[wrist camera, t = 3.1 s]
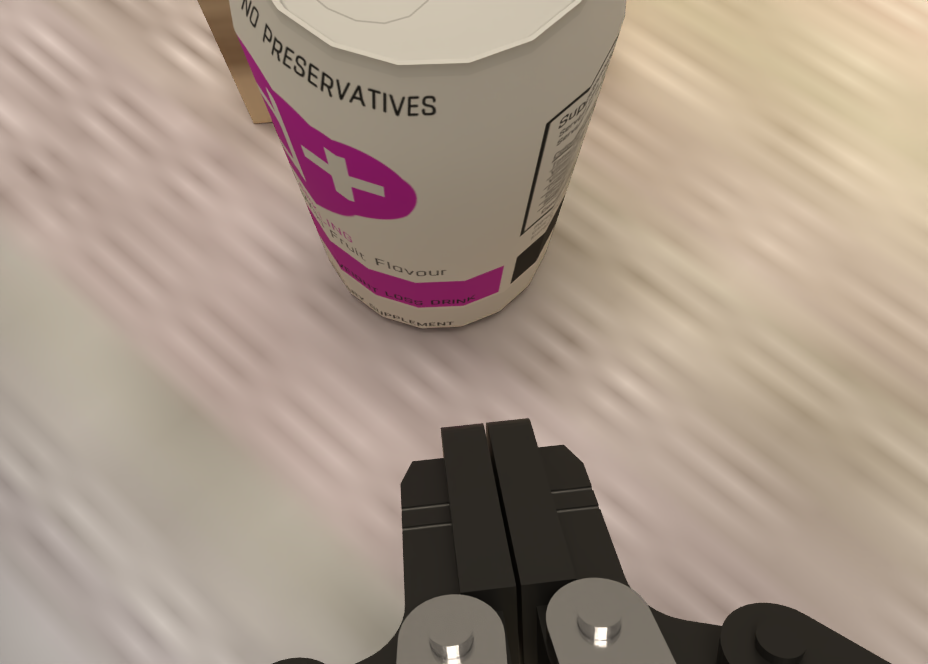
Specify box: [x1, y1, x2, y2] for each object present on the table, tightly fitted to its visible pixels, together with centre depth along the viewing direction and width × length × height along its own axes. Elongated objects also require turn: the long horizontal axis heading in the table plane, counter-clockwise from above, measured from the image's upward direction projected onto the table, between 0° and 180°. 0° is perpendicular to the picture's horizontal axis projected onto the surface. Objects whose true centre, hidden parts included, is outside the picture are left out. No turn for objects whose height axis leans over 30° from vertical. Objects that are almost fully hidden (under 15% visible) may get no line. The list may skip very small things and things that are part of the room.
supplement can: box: [229, 0, 626, 328], centre depth 21 cm, size 8×8×15 cm
